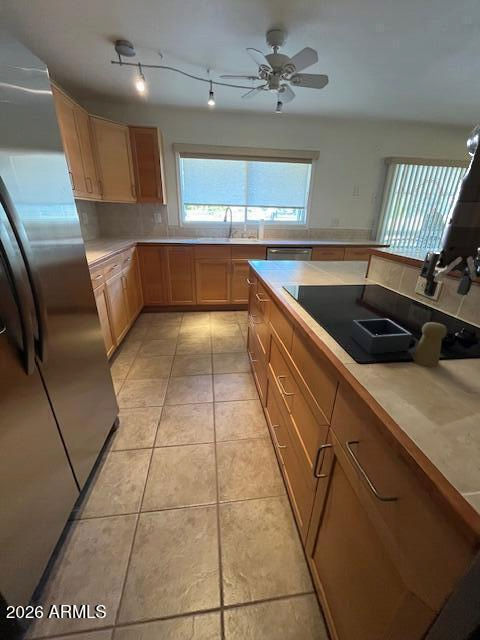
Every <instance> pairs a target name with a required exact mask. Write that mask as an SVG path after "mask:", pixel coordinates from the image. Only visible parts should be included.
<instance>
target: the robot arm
mask: <svg viewBox="0 0 480 640" xmlns="http://www.w3.org/2000/svg"><path fill="white" fill-rule="evenodd" d="M466 149H467V151H468V153H469V154H470V155H471V156H472V158H471V161H470V164H469V167H468V169H467V171H466V172H465V173H464V174H463V175H462V176H461V179H460V181H459V184H458V186H457V190H456V193H455V196H454V200H453V204H452V206H451V209H450V211H449V214H448V216H447V219H446V224H445V228H444V229H443V230H444V231H443V234H442V237H441V241H440V245H441V250H440V251H439V252H434V251H427V252H426V254H425V257H424V260H423V263H422V267H421V269H420V271H419V277H420V278H422V279H425V280H426V282H425V285H424V289H423V293H424V295H425V296H427V297H429V298H432V297H433V298H434V297H435V295H436V291H437V287H438V284H439V280H440V279H441V278H442V277H443V276H445V275H447V274H448V273H449V272H456V271H459V272H460V273H461V276H462V278H460V281H459V284H458V287H457V290H456V294H458V295H461V296H467V295H468V293H469V292H470V290H471V288H472V285H473V282H474V281H475V280H476V279H478V278H480V122H479V123H478V124H477V125H476V126H475V127H473V129H472V130H471V132H470V134H469V136H468V138H467V141H466ZM478 269H479V270H478Z"/></svg>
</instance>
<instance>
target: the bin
mask: <svg viewBox="0 0 480 640" xmlns="http://www.w3.org/2000/svg"><path fill="white" fill-rule="evenodd" d="M350 329H351V330H350V335H349V336H350V337H351V339H353V340H354V341H355V342H356V343H357V344H358V345H359V346H360V347H361V348H363V350H365V351H366V352H367V354H368V355H377V354H378V355H379V353H380V354H386V353H385V352H394V353H399V352H398V351H409V348H410V344H411V340H412V338H413V337H412V336H413V334H412V333H411V332H409V331H408V330H406V329H404V328H403V327H401V326H400V325H398V324H397V323H395V322H394V321H392V320H390V319H389V318H387V317H386V318H372V319H369V318H368V319H355V320H354V319H353V320H352V322H351V328H350ZM378 333H382V334H383V335H376V334H378ZM374 335H376V336H374Z"/></svg>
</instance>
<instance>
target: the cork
mask: <svg viewBox="0 0 480 640" xmlns="http://www.w3.org/2000/svg"><path fill="white" fill-rule="evenodd" d="M421 333H422V335H421V338H420V340H419V342H418V344H417V346H416V348H415V349H414V353H413V354H412V356H411V359H412V358H413V360H414V361H415V362H414V361H413V360H412V361H413V362H414V363H415V364H417V363H418V364H417V365H419V364H420V366H423V367H425V368H426V367H427V368H436V367H438V366H439V364H440V356H441V351H442V350H441V348H442V342H443V339H444V338H445V337H446V335H447V334H448V329H447V327H446V326H445V325H444V324H442V323H438V322H433V321H430V322H429V321H428V322H426V323H424V324H423V326H422V327H421Z"/></svg>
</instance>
